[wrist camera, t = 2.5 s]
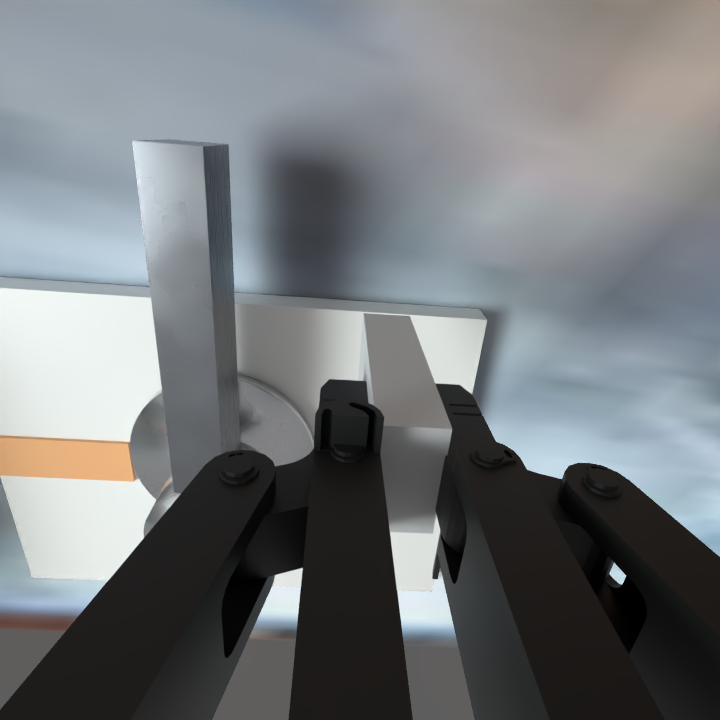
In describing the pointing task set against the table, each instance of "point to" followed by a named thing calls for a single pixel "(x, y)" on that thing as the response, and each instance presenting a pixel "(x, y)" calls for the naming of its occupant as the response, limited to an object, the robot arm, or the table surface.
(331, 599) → the robot arm
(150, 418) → the grey metal lever
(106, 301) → the base plate
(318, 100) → the table surface
